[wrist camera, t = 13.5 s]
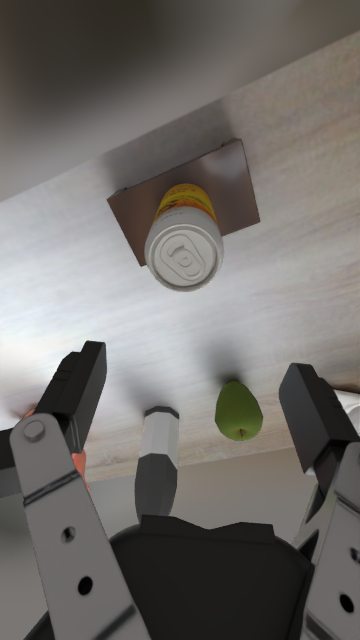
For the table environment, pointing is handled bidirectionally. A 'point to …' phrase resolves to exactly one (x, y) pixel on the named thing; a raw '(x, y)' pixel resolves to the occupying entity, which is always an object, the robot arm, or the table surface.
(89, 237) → the table surface
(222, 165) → the shelf
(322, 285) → the table surface
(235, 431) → the apple
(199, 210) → the beer can
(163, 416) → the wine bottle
